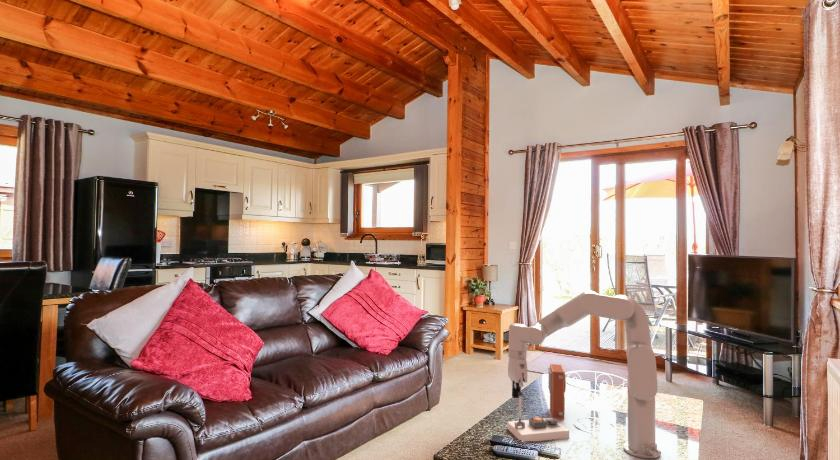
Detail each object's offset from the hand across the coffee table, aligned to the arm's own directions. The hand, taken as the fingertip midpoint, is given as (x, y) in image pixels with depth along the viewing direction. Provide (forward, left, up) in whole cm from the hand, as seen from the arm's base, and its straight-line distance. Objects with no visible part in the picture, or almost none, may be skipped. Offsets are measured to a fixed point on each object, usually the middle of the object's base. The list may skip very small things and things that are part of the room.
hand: (516, 397), depth 195 cm
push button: (-3, -8, -11) cm, 14 cm away
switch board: (-3, -8, -15) cm, 17 cm away
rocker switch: (-3, -15, -10) cm, 18 cm away
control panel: (+15, -27, -15) cm, 34 cm away
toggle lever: (-3, 0, -10) cm, 10 cm away
